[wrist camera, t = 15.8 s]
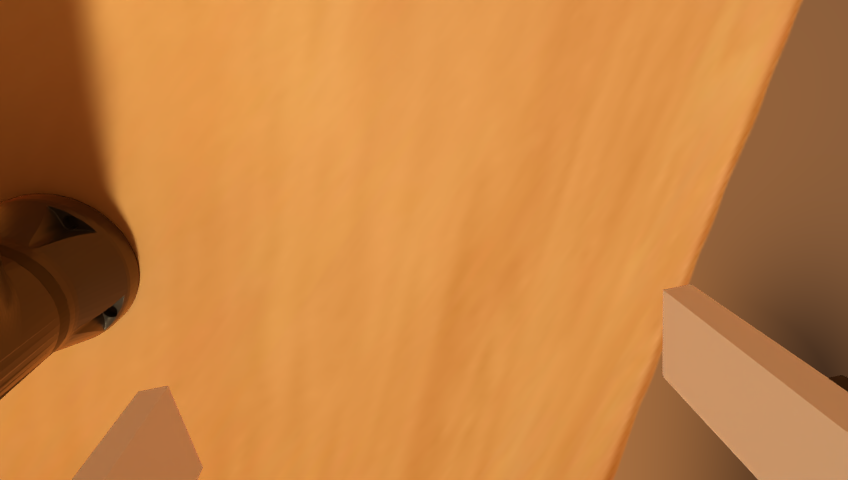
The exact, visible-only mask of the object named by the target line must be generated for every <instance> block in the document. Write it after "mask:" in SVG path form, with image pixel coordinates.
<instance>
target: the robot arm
mask: <svg viewBox="0 0 848 480" xmlns="http://www.w3.org/2000/svg"><path fill="white" fill-rule="evenodd" d="M138 285H139V270H138V264H137V261H136V257H135V255H134V252H133V250H132V248H131V246H130V244H129V242H128V241H127V239H126V238H125V236H124V235H123V234H122V232H121V231H120V230H119V229H118V228H117V227H116V226H115V225H114V224H113V223H112V222H111V221H110V220H109V219H108V218H106V217H105V216H104V215H102V214H101V213H100V212H98V211H96V210H95V209H93V208H91V207H90V206H88V205H86V204H84V203H81V202H79V201H76V200H73V199H70V198H67V197H63V196H58V195H52V194H30V195H24V196H19V197H16V198H13V199H10V200H7V201H4V202H1V203H0V399H2V398H3V397H4V396H5V395H6V394H7V393H8V392H9V391H10V390H12V389H13V388H14V387H15V386H16V385H17V384H18V383H19V382H21V381H22V380H23V379H24V378H25V377H26V376H27V375H28V374H29V373H31V372H32V371H33V370H34V369H35V368H36V367H37V366H38V365H39V364H41V363H42V362H43V361H44V360H45V359H46V358H47V357H48V356H50V355H51V354H52V353H53V352H55V351H58V350H61V349H64V348H66V347H69V346H72V345H75V344H78V343H80V342H83V341H86V340H89V339H91V338H94V337H96V336H98V335H99V334H101V333H103V332H105V331H106V330H107V329H109V328H110V327H111V326H113V325H114V324H115V323H116V322H117V321H118V320H119V319H120V318H121V317H122V316H123V315H124V314H125V313H126V312H127V311H128V309H129V308H130V307H131V305H132V303H133V301H134V299H135V297H136V294H137V290H138ZM663 377H664V378H665V379H666V380H667V381H668V382H669V383H670V385H671V386H672V387H673V388H674V389H675V390H676V391H677V392H678V393H679V394H680V395H681V397H682V398H683V399H684V400H685V401H686V402H687V403H688V404H689V405H690V406H691V407H692V408H693V410H695V412H696V413H697V414H698V415H699V416H700V417H701V418H702V419H703V420H704V421H705V423H706V424H707V425H708V426H709V427H710V428H711V429H712V430H713V431H714V432H715V433H716V434H717V436H718V437H719V438H720V439H721V440H722V441H723V442H724V443H725V444H726V445H727V446H728V447H729V449H730V450H731V451H732V452H733V453H734V454H735V455H736V456H737V457H738V458H739V459H740V460H741V462H742V463H743V464H744V465H745V466H746V467H747V468H748V469H749V470H750V471H751V472H752V473H753V474H754V476H755V477H756V478H757V479H758V480H848V378H847V377H845V376H842V375H840V376H835V377H831V378H827V377H826V376H824V375H822V374H821V373H819V372H818V371H817V370H815V369H814V368H812V367H811V366H809V365H808V364H807V363H805V362H804V361H802V360H801V359H799V358H798V357H796V356H795V355H793V354H792V353H791V352H789V351H788V350H786V349H785V348H783V347H782V346H780V345H779V344H777V343H776V342H775V341H773V340H772V339H770V338H769V337H767V336H766V335H764V334H763V333H761V332H760V331H759V330H757V329H755V328H754V327H753V326H751V325H750V324H748V323H747V322H745V321H744V320H743V319H741V318H740V317H738V316H737V315H735V314H733V313H732V312H731V311H729V310H728V309H726V308H725V307H723V306H722V305H721V304H719V303H718V302H716V301H715V300H713V299H712V298H710V297H709V296H708V295H706V294H705V293H703V292H702V291H700V290H699V289H697V288H696V287H694V286H693V285H692V284H690V285H685V286H680V287H675V288H669V289H664V290H663ZM202 468H203V467H202V464H201V462H200V460H199V457H198V455H197V453H196V450H195V448H194V445H193V443H192V441H191V438H190V436H189V434H188V431H187V429H186V427H185V424H184V422H183V420H182V417H181V415H180V413H179V410H178V408H177V406H176V403H175V401H174V399H173V396H172V394H171V391H170V389H169V387H168V386H164V387H159V388H154V389H149V390H144V391H139V392H138V393H137V394H136V395H135V397H134V398H133V399H132V401H131V402H130V403H129V405H128V406H127V407H126V409H125V410H124V411H123V413H122V414H121V415H120V417H119V418H118V419H117V421H116V422H115V423H114V424H113V426H112V427H111V428H110V430H109V431H108V432H107V434H106V435H105V436H104V438H103V439H102V440H101V442H100V443H99V444H98V446H97V447H96V448H95V450H94V451H93V452H92V454H91V455H90V456H89V458H88V459H87V460H86V461H85V463H84V464H83V465H82V467H81V468H80V469H79V471H78V472H77V473H76V475H75V476H74V477H73V479H72V480H197V479H198V477H199V475H200V473H201V471H202Z"/></svg>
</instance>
